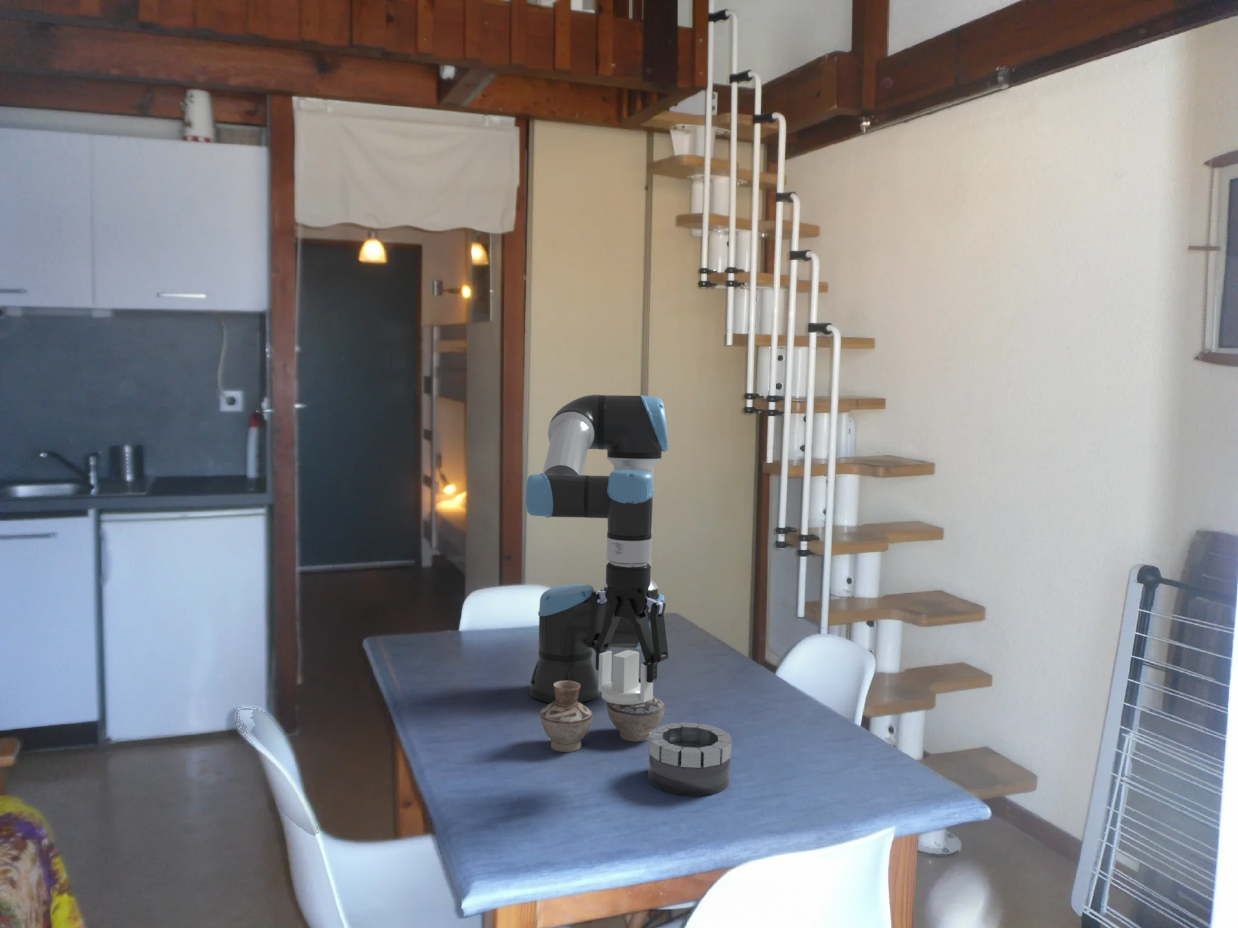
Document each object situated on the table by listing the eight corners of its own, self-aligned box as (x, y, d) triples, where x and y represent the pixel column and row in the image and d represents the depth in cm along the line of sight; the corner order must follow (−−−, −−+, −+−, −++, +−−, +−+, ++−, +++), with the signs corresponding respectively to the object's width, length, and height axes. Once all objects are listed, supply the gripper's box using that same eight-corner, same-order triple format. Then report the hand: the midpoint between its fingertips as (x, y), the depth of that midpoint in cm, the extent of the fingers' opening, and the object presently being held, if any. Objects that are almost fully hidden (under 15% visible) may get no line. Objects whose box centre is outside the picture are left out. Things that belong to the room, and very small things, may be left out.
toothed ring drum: (632, 782, 171) (633, 740, 170) (673, 756, 183) (675, 716, 182) (705, 803, 163) (707, 759, 163) (743, 775, 175) (745, 733, 175)
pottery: (530, 740, 190) (531, 678, 188) (647, 722, 200) (648, 664, 199) (553, 762, 179) (554, 697, 178) (674, 742, 190) (676, 681, 189)
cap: (592, 697, 169) (593, 654, 168) (619, 686, 176) (620, 644, 175) (631, 707, 164) (632, 663, 164) (657, 695, 171) (658, 652, 170)
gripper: (566, 557, 171) (563, 687, 173) (669, 574, 159) (664, 713, 161) (592, 551, 177) (589, 677, 179) (693, 567, 165) (689, 701, 167)
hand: (625, 694), depth 170 cm, fingers closed on cap, 8 cm apart
